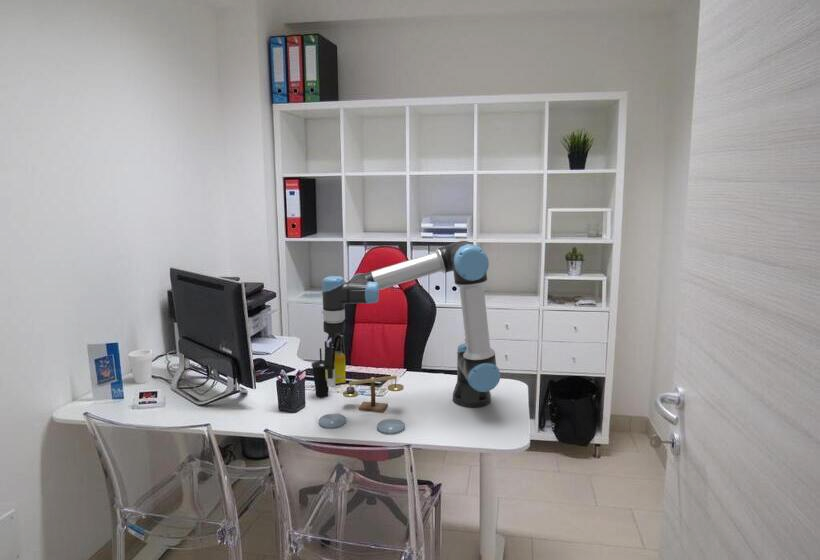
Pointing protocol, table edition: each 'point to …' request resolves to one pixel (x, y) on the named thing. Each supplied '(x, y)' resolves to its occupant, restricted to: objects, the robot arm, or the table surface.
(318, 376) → the drinking cup
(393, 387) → the balance beam
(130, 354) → the foam cup
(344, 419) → the dish low side
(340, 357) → the supplement box
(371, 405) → the balance stand
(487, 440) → the table surface
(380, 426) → the blue-grey plate
